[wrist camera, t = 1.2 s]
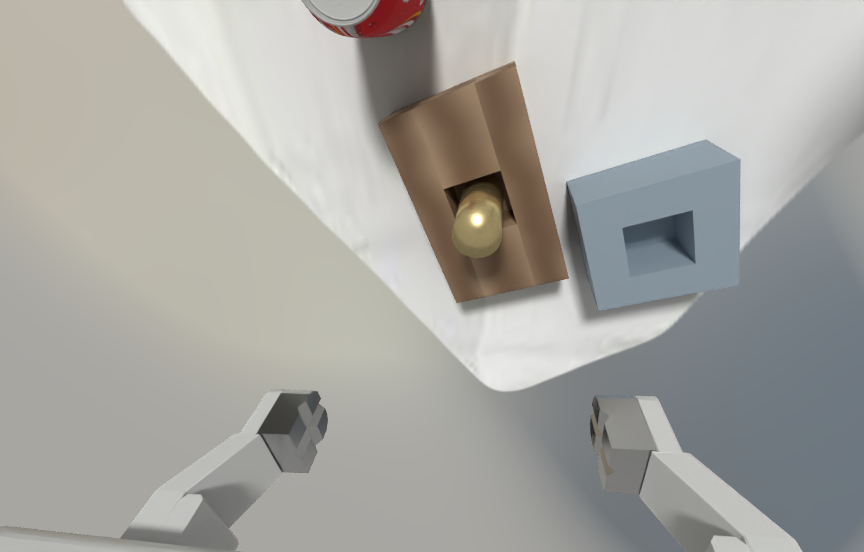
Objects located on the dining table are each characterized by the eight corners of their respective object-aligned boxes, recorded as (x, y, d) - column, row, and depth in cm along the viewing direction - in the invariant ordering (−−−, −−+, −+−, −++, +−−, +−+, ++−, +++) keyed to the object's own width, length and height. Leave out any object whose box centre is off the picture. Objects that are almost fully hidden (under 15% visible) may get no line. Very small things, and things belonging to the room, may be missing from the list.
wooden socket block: (514, 61, 33) (515, 66, 29) (562, 253, 42) (568, 278, 38) (392, 112, 37) (378, 123, 33) (461, 278, 46) (456, 303, 42)
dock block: (705, 139, 34) (740, 159, 29) (709, 252, 39) (739, 284, 34) (566, 181, 38) (575, 205, 33) (587, 278, 43) (598, 311, 38)
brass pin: (496, 166, 37) (493, 207, 29) (507, 203, 39) (507, 251, 31) (457, 179, 38) (444, 221, 30) (470, 214, 40) (461, 263, 32)
